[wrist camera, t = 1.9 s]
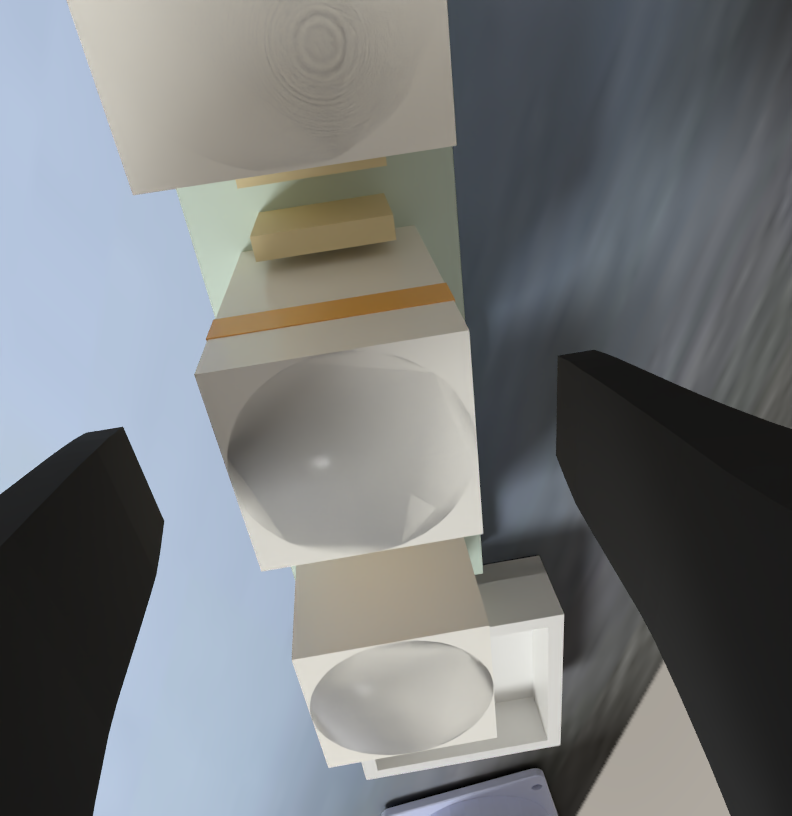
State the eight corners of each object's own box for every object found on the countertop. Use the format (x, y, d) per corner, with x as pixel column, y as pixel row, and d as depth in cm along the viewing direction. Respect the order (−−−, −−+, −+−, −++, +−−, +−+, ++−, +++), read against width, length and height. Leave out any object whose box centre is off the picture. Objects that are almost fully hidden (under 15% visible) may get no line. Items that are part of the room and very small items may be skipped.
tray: (539, 684, 25) (560, 745, 23) (362, 715, 25) (366, 779, 23) (539, 555, 22) (564, 614, 19) (329, 591, 21) (330, 654, 19)
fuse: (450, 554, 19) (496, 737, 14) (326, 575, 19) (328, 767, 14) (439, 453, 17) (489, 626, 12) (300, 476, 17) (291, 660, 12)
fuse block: (475, 547, 21) (498, 622, 18) (303, 576, 21) (300, 657, 18) (414, -221, 11) (445, -308, 8) (83, -176, 11) (3, -250, 8)
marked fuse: (432, 377, 16) (484, 534, 11) (279, 402, 16) (260, 571, 11) (415, 224, 14) (470, 329, 9) (240, 251, 14) (192, 373, 9)
